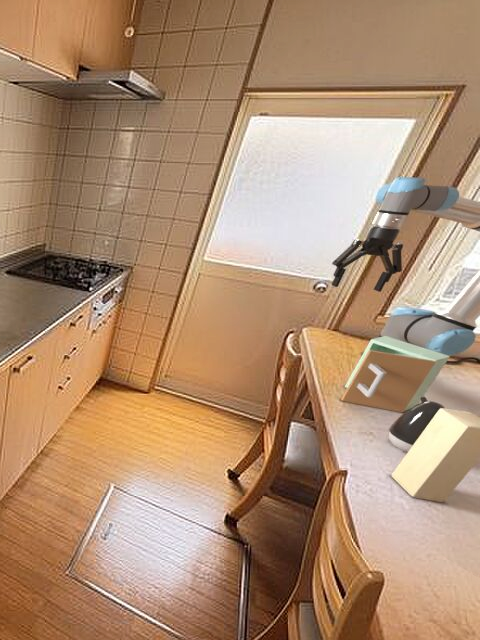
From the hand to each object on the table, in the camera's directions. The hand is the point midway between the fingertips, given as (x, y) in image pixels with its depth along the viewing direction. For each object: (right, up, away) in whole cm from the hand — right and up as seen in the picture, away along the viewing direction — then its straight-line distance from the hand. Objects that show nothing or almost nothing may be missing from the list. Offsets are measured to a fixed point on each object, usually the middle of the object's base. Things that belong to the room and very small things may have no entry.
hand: (355, 288), depth 151 cm
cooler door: (-6, -43, -14) cm, 45 cm away
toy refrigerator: (-29, -59, -48) cm, 81 cm away
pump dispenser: (-15, -52, -32) cm, 62 cm away
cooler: (+5, -39, -4) cm, 39 cm away
